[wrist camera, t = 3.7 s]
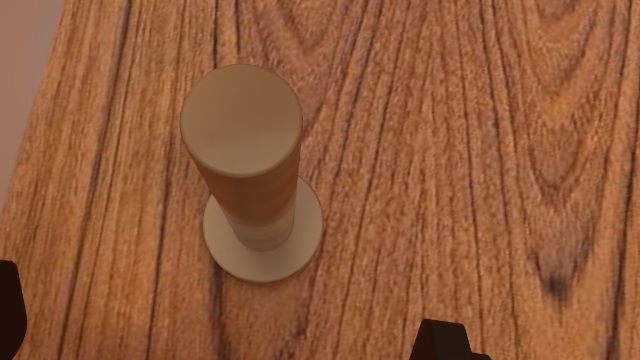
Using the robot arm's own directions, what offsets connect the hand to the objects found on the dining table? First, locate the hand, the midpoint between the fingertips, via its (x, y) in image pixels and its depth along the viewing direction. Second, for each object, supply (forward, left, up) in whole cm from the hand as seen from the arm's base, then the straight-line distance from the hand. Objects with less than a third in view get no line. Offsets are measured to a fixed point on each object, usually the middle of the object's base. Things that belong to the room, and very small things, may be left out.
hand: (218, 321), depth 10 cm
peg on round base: (0, +4, -10) cm, 11 cm away
